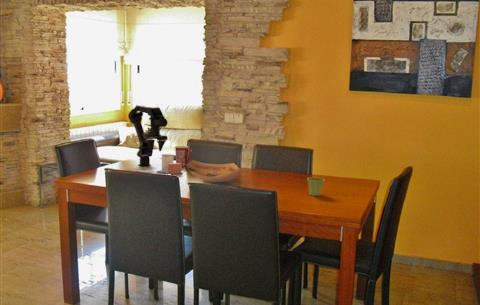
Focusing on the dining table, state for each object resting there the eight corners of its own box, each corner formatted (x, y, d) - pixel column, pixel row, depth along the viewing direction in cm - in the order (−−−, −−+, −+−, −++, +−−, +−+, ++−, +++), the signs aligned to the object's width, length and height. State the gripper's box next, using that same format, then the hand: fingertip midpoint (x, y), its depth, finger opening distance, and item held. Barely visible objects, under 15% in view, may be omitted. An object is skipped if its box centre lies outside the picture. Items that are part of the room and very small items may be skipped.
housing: (157, 172, 309) (157, 161, 308) (170, 170, 315) (170, 159, 314) (169, 175, 299) (169, 164, 298) (182, 174, 305) (182, 163, 304)
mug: (172, 166, 329) (172, 146, 327) (179, 164, 337) (179, 145, 335) (188, 168, 324) (188, 148, 322) (195, 166, 332) (195, 147, 330)
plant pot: (311, 192, 270) (312, 176, 268) (327, 195, 264) (328, 179, 263) (302, 194, 263) (303, 178, 261) (318, 197, 257) (319, 181, 255)
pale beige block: (161, 170, 308) (161, 154, 307) (169, 169, 312) (170, 153, 311) (165, 171, 305) (165, 155, 304) (173, 170, 309) (173, 154, 308)
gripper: (136, 127, 317) (137, 151, 319) (153, 127, 304) (153, 152, 306) (150, 126, 325) (151, 149, 327) (167, 126, 312) (168, 151, 313)
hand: (155, 150), depth 318 cm, fingers open, 9 cm apart
